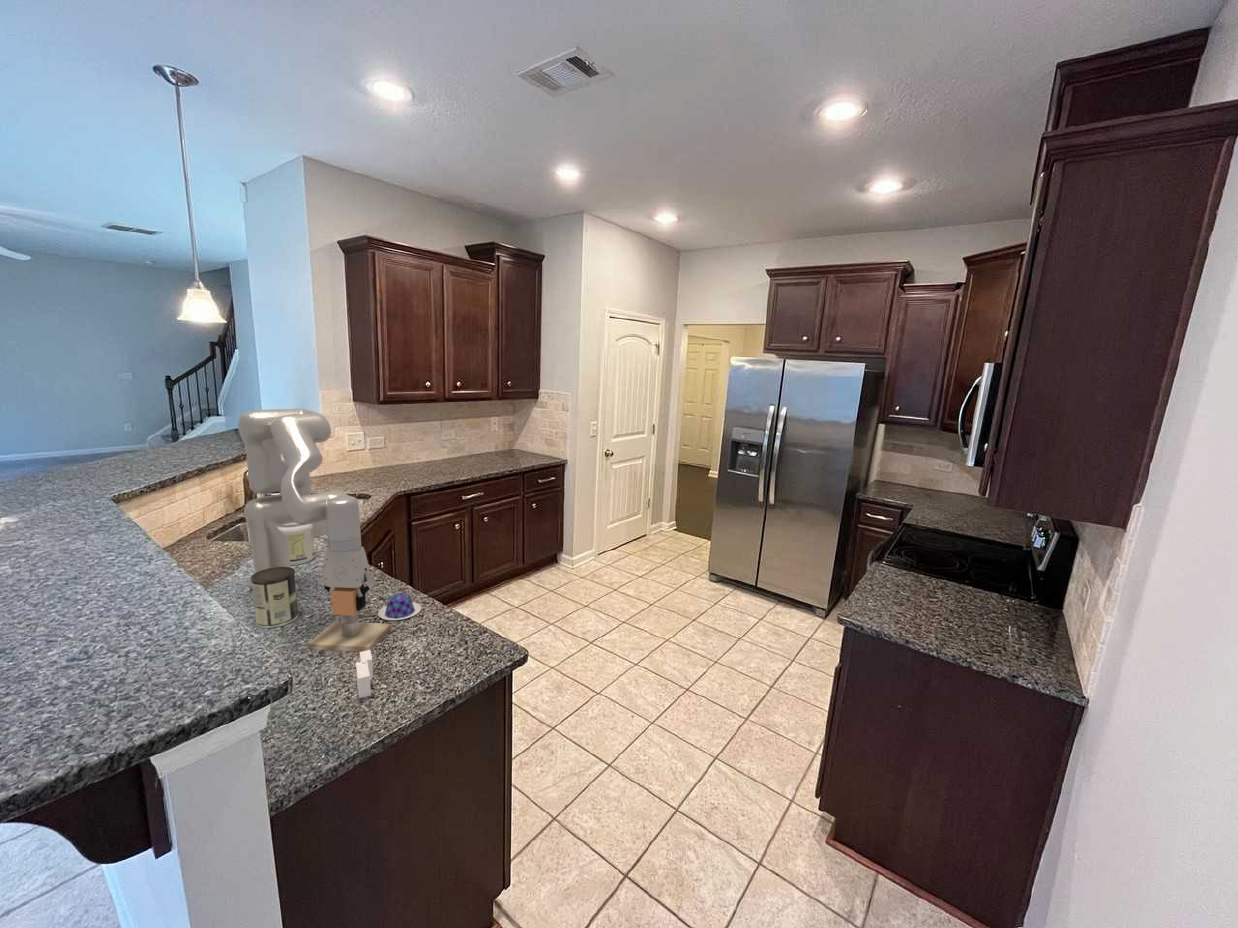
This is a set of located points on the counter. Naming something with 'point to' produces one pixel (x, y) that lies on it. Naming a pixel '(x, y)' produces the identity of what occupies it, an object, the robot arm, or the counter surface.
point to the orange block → (344, 601)
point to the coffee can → (274, 597)
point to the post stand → (349, 635)
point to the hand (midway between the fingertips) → (349, 607)
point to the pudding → (399, 607)
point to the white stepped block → (364, 673)
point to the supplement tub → (299, 542)
